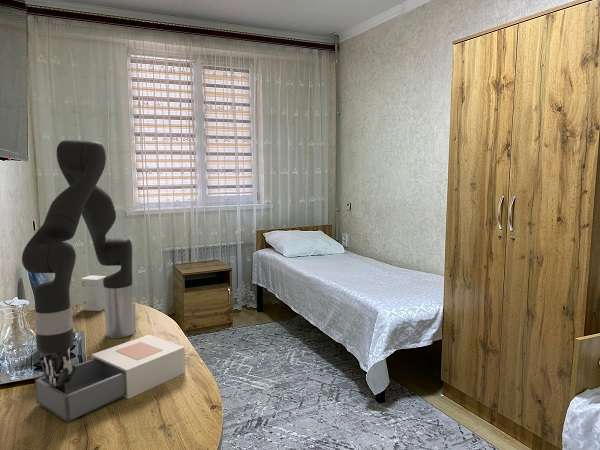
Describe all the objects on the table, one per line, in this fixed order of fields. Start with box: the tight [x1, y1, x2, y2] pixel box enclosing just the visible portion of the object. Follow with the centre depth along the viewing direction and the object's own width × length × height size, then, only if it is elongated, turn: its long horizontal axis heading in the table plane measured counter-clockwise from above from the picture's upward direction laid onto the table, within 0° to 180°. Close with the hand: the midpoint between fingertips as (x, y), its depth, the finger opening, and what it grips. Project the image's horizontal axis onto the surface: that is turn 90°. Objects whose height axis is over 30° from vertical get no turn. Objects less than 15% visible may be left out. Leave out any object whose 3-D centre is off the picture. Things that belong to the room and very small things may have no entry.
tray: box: [34, 358, 127, 423], centre depth 112 cm, size 18×14×6 cm
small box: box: [80, 274, 107, 312], centre depth 183 cm, size 8×6×13 cm
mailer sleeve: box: [91, 334, 186, 399], centre depth 124 cm, size 18×16×8 cm
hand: (59, 398), depth 106 cm, fingers closed
